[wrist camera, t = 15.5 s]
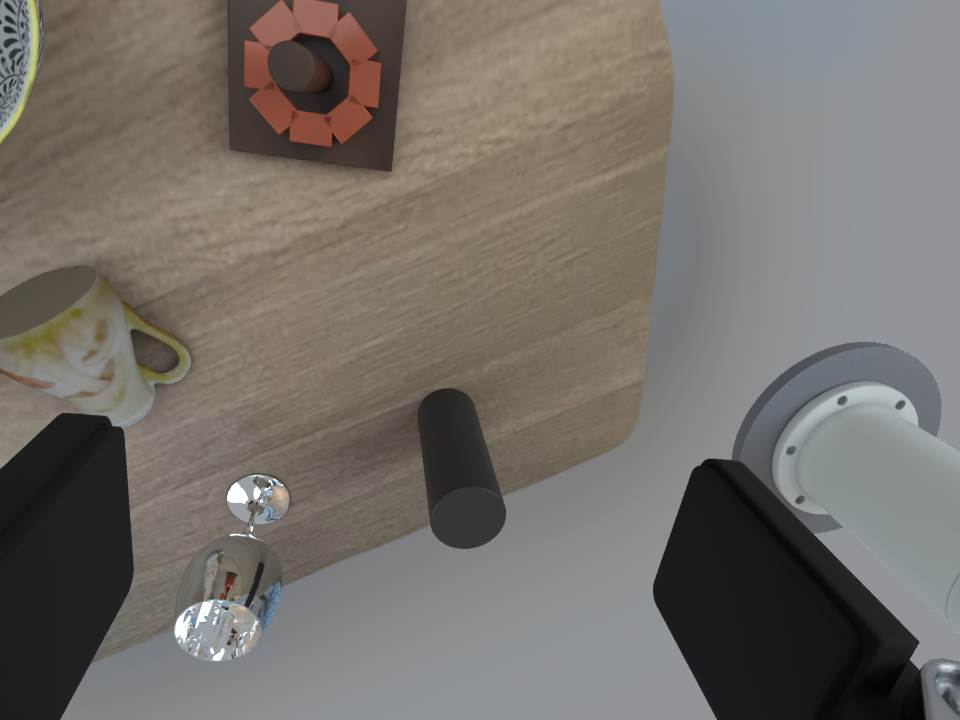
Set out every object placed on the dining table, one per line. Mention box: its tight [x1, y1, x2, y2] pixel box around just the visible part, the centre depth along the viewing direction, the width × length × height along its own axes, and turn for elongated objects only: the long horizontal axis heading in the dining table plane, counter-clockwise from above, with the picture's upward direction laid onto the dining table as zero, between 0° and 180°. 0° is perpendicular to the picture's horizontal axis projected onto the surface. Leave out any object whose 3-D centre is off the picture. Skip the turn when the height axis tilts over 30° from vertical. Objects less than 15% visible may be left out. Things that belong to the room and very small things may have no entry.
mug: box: [0, 266, 191, 428], centre depth 35 cm, size 8×10×10 cm
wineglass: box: [174, 474, 290, 661], centre depth 38 cm, size 6×6×12 cm
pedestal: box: [418, 389, 506, 549], centre depth 38 cm, size 4×4×12 cm
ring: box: [244, 0, 381, 147], centre depth 32 cm, size 7×7×2 cm
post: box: [228, 0, 406, 172], centre depth 28 cm, size 9×9×11 cm
